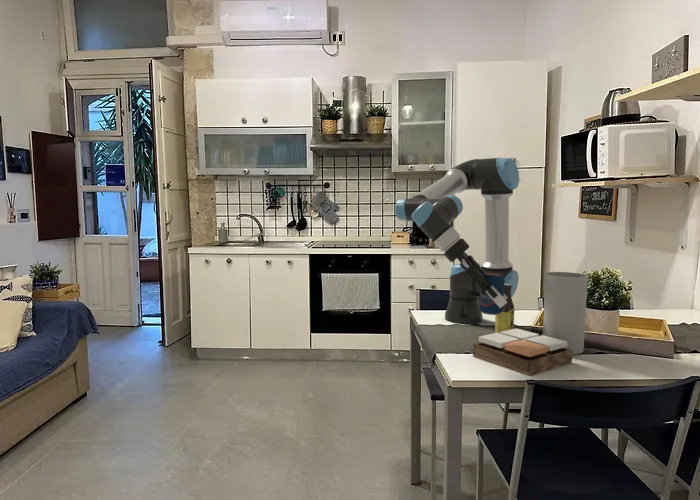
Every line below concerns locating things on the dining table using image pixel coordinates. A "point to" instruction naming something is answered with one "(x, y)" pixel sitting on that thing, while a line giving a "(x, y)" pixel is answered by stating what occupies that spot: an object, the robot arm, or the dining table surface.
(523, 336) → the key
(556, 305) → the cylinder vase
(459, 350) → the dining table surface
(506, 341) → the key
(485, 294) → the soda can
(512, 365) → the keypad
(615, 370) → the dining table surface
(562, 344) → the key
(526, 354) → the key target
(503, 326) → the sauce bottle
